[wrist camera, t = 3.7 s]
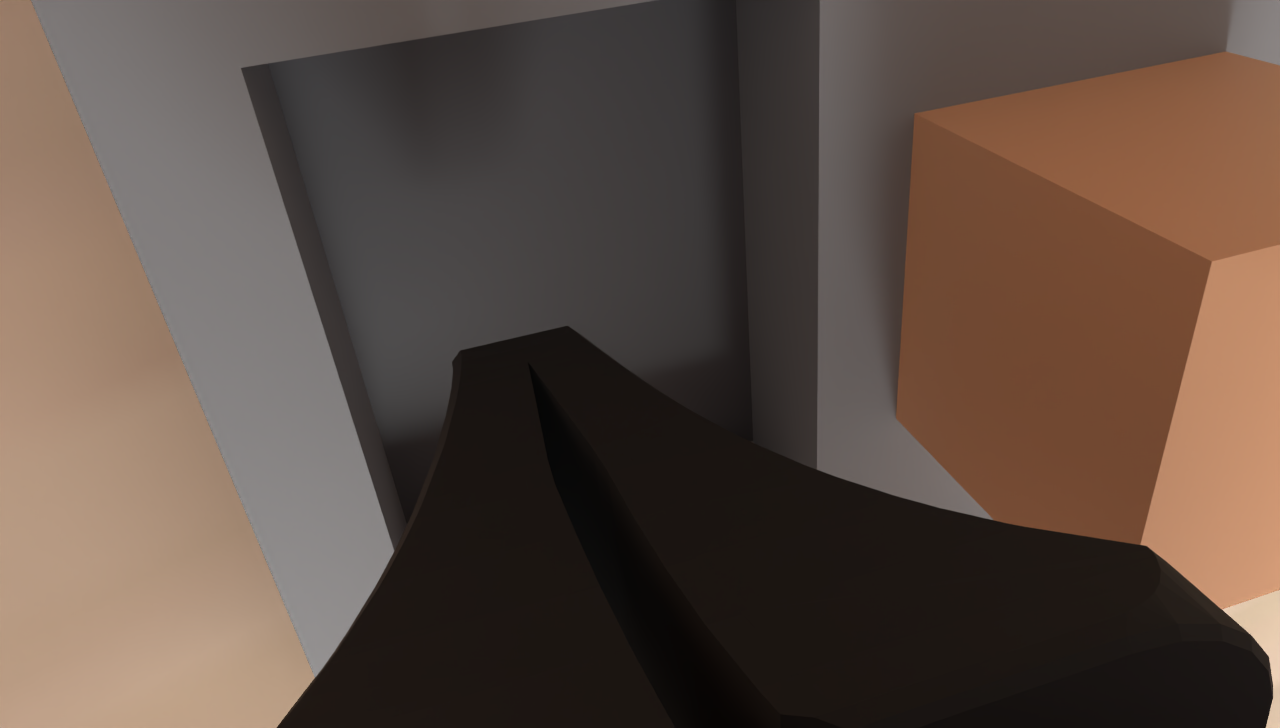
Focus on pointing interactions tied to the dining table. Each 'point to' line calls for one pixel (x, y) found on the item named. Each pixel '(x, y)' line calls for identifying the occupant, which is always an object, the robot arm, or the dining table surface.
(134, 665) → the dining table surface
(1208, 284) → the block
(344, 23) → the trap deck
